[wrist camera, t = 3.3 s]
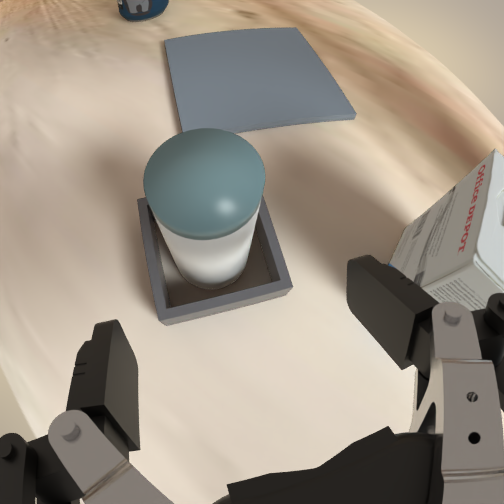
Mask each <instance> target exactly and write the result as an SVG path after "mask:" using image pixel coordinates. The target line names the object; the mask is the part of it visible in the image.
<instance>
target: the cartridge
mask: <svg viewBox="0 0 504 504" xmlns="http://www.w3.org/2000/svg"><path fill="white" fill-rule="evenodd" d="M143 184H144V191H145V195H146V198H147V200H148V203H149V205H150V207H151V210H152V212H153V214H154V217H155V219H156V221H157V223H158V226H159V228H160V230H161V232H162V235H163V237H164V239H165V241H166V244H167V246H168V248H169V250H170V252H171V254H172V257H173V259H174V261H175V263H176V265H177V267H178V269H179V271H180V273H181V275H182V276H183V277H184V278H185V279H186V280H187V281H188V282H189V283H191V284H192V285H194V286H196V287H199V288H203V289H210V290H211V289H220V288H223V287H226V286H228V285H230V284H231V283H233V282H234V281H235V280H237V279H238V278H239V276H240V275H241V274H242V272H243V270H244V268H245V266H246V263H247V259H248V254H249V250H250V246H251V241H252V237H253V233H254V228H255V224H256V220H257V215H258V211H259V207H260V202H261V198H262V194H263V189H264V184H265V169H264V165H263V162H262V160H261V158H260V156H259V154H258V153H257V151H256V150H255V149H254V147H253V146H252V145H251V144H249V143H248V142H247V141H246V140H244V139H243V138H242V137H240V136H238V135H236V134H234V133H231V132H229V131H225V130H221V129H214V128H200V129H193V130H189V131H185V132H182V133H180V134H177V135H175V136H173V137H172V138H170V139H168V140H167V141H166V142H164V143H163V144H162V145H161V146H160V147H159V148H158V149H157V150H156V151H155V152H154V153H153V155H152V156H151V158H150V160H149V161H148V163H147V166H146V169H145V173H144V180H143Z"/></svg>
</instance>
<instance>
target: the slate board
mask: <svg viewBox="0 0 504 504" xmlns="http://www.w3.org/2000/svg"><path fill="white" fill-rule="evenodd" d="M165 47H166V53H167V58H168V63H169V69H170V74H171V79H172V84H173V89H174V94H175V99H176V104H177V109H178V113H179V118H180V123H181V127H182V132H185V131H189V130H193V129H200V128H214V129H221V130H225V131H229V132H231V133H240V132H246V131H252V130H259V129H266V128H273V127H280V126H288V125H297V124H306V123H315V122H326V121H338V120H352V119H354V118H355V116H356V112H355V111H354V109H353V107H352V106H351V104H350V103H349V101H348V99H347V98H346V96H345V95H344V93H343V92H342V90H341V89H340V87H339V86H338V84H337V83H336V81H335V80H334V78H333V77H332V75H331V74H330V72H329V71H328V69H327V68H326V67H325V65H324V64H323V62H322V61H321V60H320V58H319V57H318V55H317V54H316V53H315V51H314V50H313V49H312V47H311V46H310V45H309V43H308V42H307V41H306V39H305V38H304V37H303V36H302V34H301V33H300V32H299V30H298V29H297V28H260V29H244V30H232V31H222V32H213V33H205V34H198V35H191V36H185V37H179V38H173V39H168V40H165Z"/></svg>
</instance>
